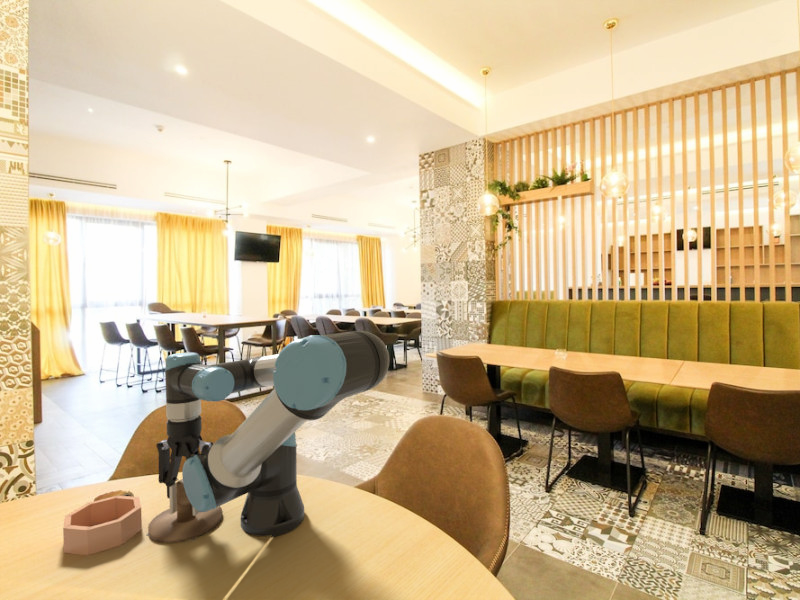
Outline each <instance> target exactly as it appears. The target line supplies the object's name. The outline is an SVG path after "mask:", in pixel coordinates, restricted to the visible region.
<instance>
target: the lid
mask: <svg viewBox="0 0 800 600" xmlns="http://www.w3.org/2000/svg"><path fill="white" fill-rule="evenodd" d="M176 482H177V483H176ZM176 482H175V483H176V491H177V511H176V512H175V513H173V514H170V508H168V509H165V510H163V511H162V512H160V513H159V514H157V515H155V516H154V517H153V518H152V519H151V521H150V522H149V524H148V527H147V529H148V531H147V532H148V533H147V534H149V536H148V537H149V538H150V539H151V540H153V541H154V542H158V543H164V544H165V543H167V544H168V543H169V544H172V543H180V542H186V541H189V540H191V539H193V538H195V539H196V538H198V537H200V536H203V535H205V534H207V533H208V532H210V531H212V530H213V529H214V528H216V527H217V526H218V525H219V524H220V523H221V521H222V519H223V513H222V512H223V508H222V507H221V506H219V507H217V508H216V509H212V510H209V511H207V512H199V513H198V514H197V515H196V516H193V508H192V505H191V503H190V501H189V499H188V497H187V495H186V492H185V488H184V484H183V478H181V479H180V480H179V479H178V480H177V481H176Z"/></svg>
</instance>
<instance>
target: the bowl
mask: <svg viewBox="0 0 800 600" xmlns="http://www.w3.org/2000/svg"><path fill="white" fill-rule="evenodd" d="M142 518H143V517H142V504H141V500H140V497H139V496H134V497H131V496H114V497H110V498H106V499H102V500H98V501H94V500H93V501H90V502H87V503H86V504H84V505H82V506H80V507H78V508H77V509H74V510H73V511H71V512H70V513H68V514H66V515H64V518H63V519H64V521H63V526H62V527H63V530H62V531H63V532H62V533H63V535H62V536H63V554H70V555H71V554H72V555H81V556H82V555H83V556H91V555H93V554H97V553H101V552H104V551H106V550H107V551H108V550H111V549H113V548H117V547H119V546H122V545H124V544H125V543H126V542H127V541H129V540H130V539H131V538H133V537H134V536H136V535H137V534H138V533H140V531H142V530H143V527H142V526H143V524H142V523H143V522H142V521H143V520H142Z"/></svg>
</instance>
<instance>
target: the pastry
mask: <svg viewBox="0 0 800 600" xmlns="http://www.w3.org/2000/svg"><path fill="white" fill-rule="evenodd" d="M114 496H131V497H135V495H134V493H133V492H132V491H130V490H129V491H127V490H121V489H119V490H115V491H114V490H112V491H109V492H106V493H103V494H99V495H98V496H95V498H94V499H93V502H94V501H98V500H102V499H106V498H110V497H114Z"/></svg>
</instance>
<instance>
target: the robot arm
mask: <svg viewBox="0 0 800 600" xmlns="http://www.w3.org/2000/svg"><path fill="white" fill-rule="evenodd" d="M389 366H390V353H389V351H388V348H387V345H386V344H385V343H384V341H383V340H382V339H381V338H380V337H378V336H377V335H376V334H373V333H371V332H369V331H365V330H351V331H346V332H345V331H344V332H340V333H332V334H324V335H320V334H319V335H318V334H317V335H312V334H311V335H308V336H305V337H303V338H302V337H301V338H298V339H295V340H293V341H290V343H288V344H286V346H284V347H283V348H282V350H280V352H279V353H277V354H271V355H261V356H257V357H251V358H247V359H246V358H245V359H240V360H234V361H228V362H220V363H215V364H202V361H201V357H200V354H199V353H197V352H178V353H173V354H169V355H168V356H166V358H165V368H164V369H165V370H164V375H165V376H164V377H165V400H166V401H165V413H166V414H165V415H166V416H165V417H166V419H167V420H166V435H167V438H166V439H163V440H161V441H159V442H158V443H156V448H157V451H158V483H159V484H164V485H165V486H166V497H167V499H169V509H170V514H173V513H175V512H176V511H177V491H176V483H177V482H178V481H179V478H178V475H179V471H180V467H181V463H182V459H183V457H184V458H185V461H184V463H183V466H182V471H181V472H182V473H181V474H182V479H183V484H184V488H185V492H186V495H187V497H188V499H189V501H190V503H191V505H192V508H193V516H196V515H197V514H198V513H199V512H207V511H209V510H212V509H216V508H217V507H219V506H220V507H221V506H223V505H224V504H227V503H229V502H231V501H234V500H235V499H238V498H240V497H242V496H245V494H246V498H245V502H244V504H243V507H242V511H241V513H240V527H241V529H242V530H243V532H245V533H247V534H248V535H253V536H258V537H268V536H270V538H271V537H277V536H282V535H284V534H286V533H289V532H291V531H293V530H294V529H296V528H297V527H298V526H299V525H301V523H303V521H304V518H305V504H304V503H303V499H302V496H301V494H300V491H299V488H298V486H297V485H298V483H297V482H298V480H297V477H298V476H297V447H298V444H297V438H296V431H298V429H300V428H301V426H303V425H304V424H305V423H306V422H307V421H309V422H310V421H317V420H320V419H321V418H323V417H324V416H326V415H327V414H328V413H329V412H330V411H331V410H332V409H333V408H334V407H335V406H336V405H337V404H339V403H340V402H342V400H344V399H346V398H350V397H352V396H355V395H358V394H361V393H363V392H364V393H365V392H368V391H370V390H372V389H374V388H375V387H377V386H379V384H381V383H382V382H383V380H384V379H385V378H386V376H387V374H388V371H389ZM267 387H273V389H272V391H270V393H269V394H268V395H267V396H266V397H265V398H264V399H263V400H262V401H261V402H260V403H259V404H258V406H256V408H255V409H254V410H253V411H252V412H251V413H250V414H249V415H248V416H247V417H246V419H245V420H244V421H243V422H242V423H241V424H240V425H239V426H238V427H237V428H236V430H235V431H234V432H233V433H232V434H231V433H230V434H226V435H224V436H221V437H219V438H218V439H216V441H215V442H213V441H209V442H207V441H204V440H203V437H202V435H201V432H202V429H203V427H202V421H203V420H202V416H201V414H202V401H206V402H215V403H216V402H220V401H224V400H225V399H227V397H229V396H230V395H232V394H235V393H240V392H243V391H247V390H253V389H258V388H259V389H260V388H267ZM199 448H200V449H199Z"/></svg>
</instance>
